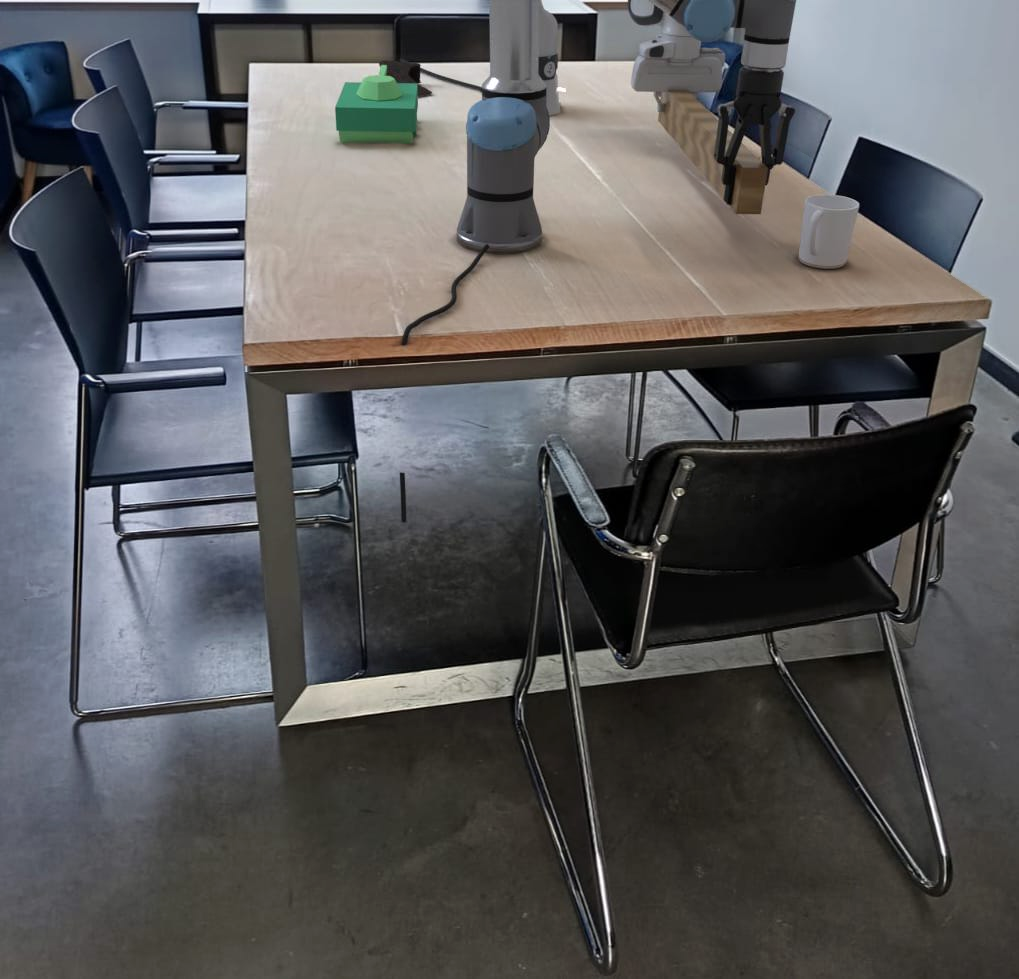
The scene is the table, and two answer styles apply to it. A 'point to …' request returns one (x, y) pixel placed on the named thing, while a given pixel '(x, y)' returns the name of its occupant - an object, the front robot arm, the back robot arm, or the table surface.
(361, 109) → the green tank
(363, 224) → the table surface
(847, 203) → the mug
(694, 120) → the beam
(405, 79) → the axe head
